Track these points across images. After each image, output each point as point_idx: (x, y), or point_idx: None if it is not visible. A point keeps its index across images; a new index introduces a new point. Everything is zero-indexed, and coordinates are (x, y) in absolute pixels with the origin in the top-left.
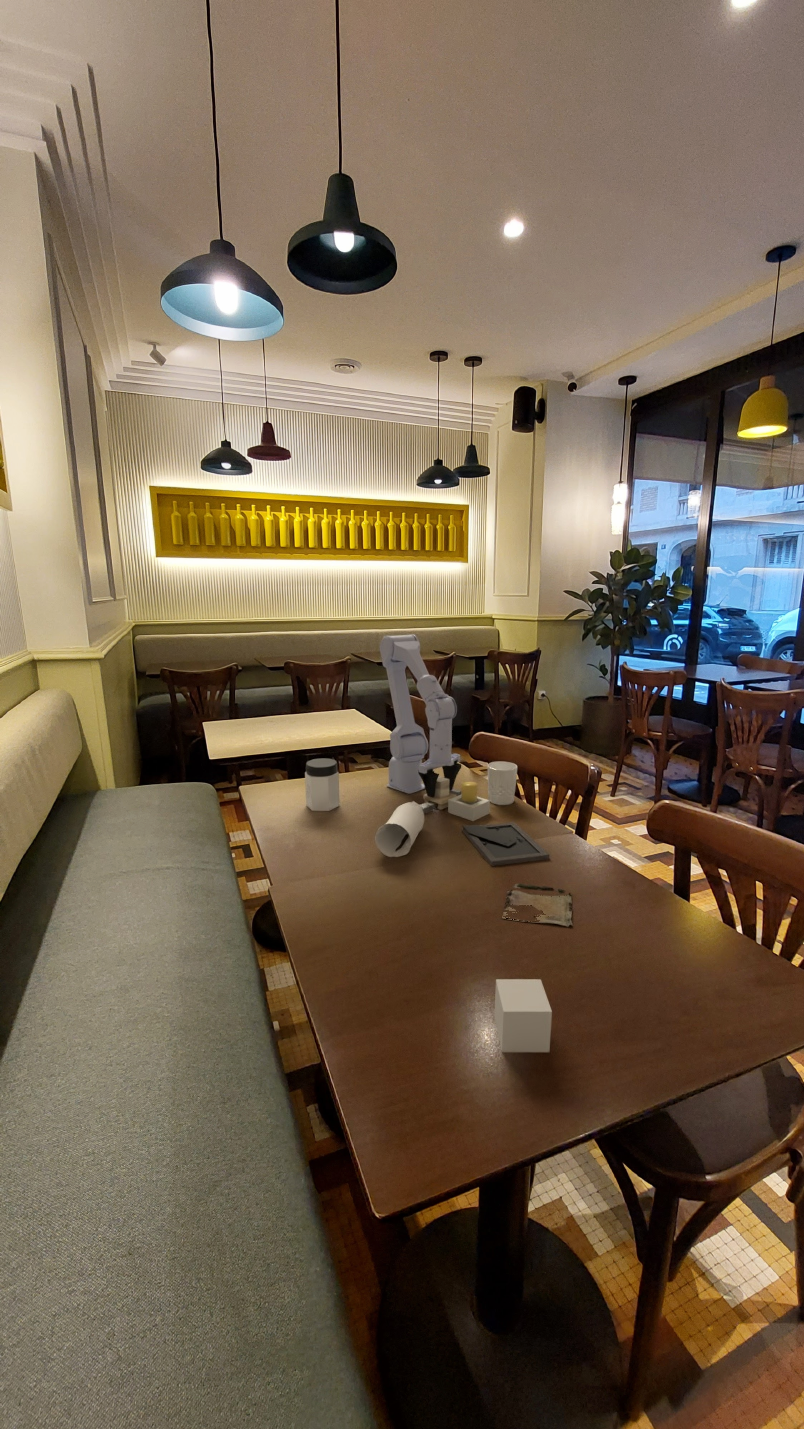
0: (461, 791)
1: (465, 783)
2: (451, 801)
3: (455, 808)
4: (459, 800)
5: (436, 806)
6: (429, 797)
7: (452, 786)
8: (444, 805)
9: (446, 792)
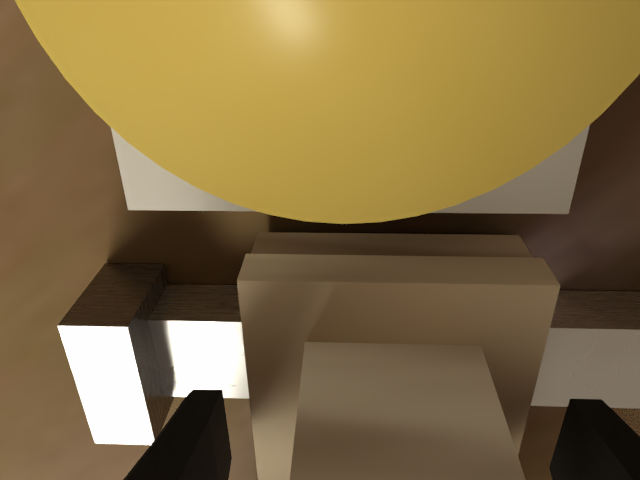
0: (60, 322)
1: (388, 92)
2: (577, 146)
3: None
4: None
5: None
6: (518, 438)
7: (189, 424)
8: (459, 250)
9: (361, 378)
